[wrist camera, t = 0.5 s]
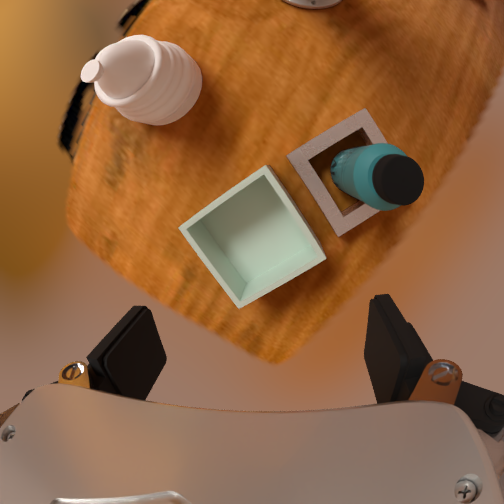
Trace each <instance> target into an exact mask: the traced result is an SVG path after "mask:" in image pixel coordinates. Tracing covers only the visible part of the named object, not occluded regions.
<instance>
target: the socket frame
mask: <svg viewBox="0 0 504 504" xmlns="http://www.w3.org/2000/svg"><path fill="white" fill-rule="evenodd" d="M356 130H358V132H359V134H360V135H361V137H362V138H363V140H364V141H365V143H366V144H367V146H368V145H373V144H375V143H376V144H377V143H387V142H386V140H385V138H384V136H383V135H382V133H381V132H380V130H379V128H378V127H377V125H376V123H375V122H374V120H373V119H372V117H371V116H370V114H369V113H368V111H367V110H366V108H364V109H363V110H361V111H359V112H357V113H356V114H354V115H352V116H350V117H349V118H347V119H345V120H344V121H342V122H340V123H338V124H337V125H335V126H333V127H332V128H330V129H328V130H327V131H325V132H323V133H322V134H320V135H318V136H317V137H315V138H314V139H312V140H310V141H309V142H307V143H305V144H304V145H302V146H301V147H299V148H297V149H296V150H294V151H293V152H291V153H290V154H288V155H287V156H286V157H287V158H288V159H289V161H290V162H291V164H292V165H293V167H294V168H295V170H296V171H297V173H298V174H299V176H300V177H301V179H302V180H303V182H304V183H305V185H306V186H307V188H308V189H309V191H310V193H311V194H312V196H313V197H314V199H315V200H316V202H317V204H318V205H319V207H320V208H321V210H322V212H323V213H324V215H325V216H326V218H327V220H328V221H329V223H330V225H331V226H332V228H333V230H334V231H335V233H336V234H337V236H338V237H339V236H341V235H342V234H344V233H346V232H347V231H349V230H350V229H352V228H354V227H355V226H357V225H358V224H360V223H362V222H363V221H365V220H366V219H368V218H369V217H371V216H373V215H374V214H376V213H377V212H379V211H380V210H377V209H374V208H372V207H370V206H368V205H367V204H366V203H364V202H363V201H361V200H360V201H358V202H357V203H355V204H353V205H352V206H350V207H349V208H347V209H345V210H344V211H342V212H340V211H339V209H338V207H337V206H336V204H335V202H334V201H333V199H332V197H331V196H330V194H329V193H328V191H327V189H326V188H325V186H324V185H323V183H322V181H321V180H320V178H319V177H318V175H317V174H316V172H315V171H314V169H313V167H312V166H311V164H310V163H309V161H308V160H309V159H310V158H312V157H314V156H315V155H317V154H318V153H320V152H322V151H323V150H325V149H326V148H328V147H330V146H331V145H333V144H335V143H336V142H338V141H340V140H341V139H343V138H345V137H346V136H348V135H350V134H351V133H353V132H355V131H356ZM370 143H371V144H370ZM387 144H388V143H387Z"/></svg>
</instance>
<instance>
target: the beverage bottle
mask: <svg viewBox="0 0 504 504" xmlns="http://www.w3.org/2000/svg"><path fill="white" fill-rule="evenodd" d="M370 144H371V143H370ZM365 145H367V144H365ZM331 164H332V165H330V166H331V168H330V169H331V170H330V171H331V172H330V173H331V175H330V176H332V179H333V180H332V181H334V184H335V185H336V187H338V188H339V190H340V189H341V191H343V192H346V193H347V194H349V195H350V196H353V197H355V198H357V199H359V200H361V201H363V202H364V203H366V204H367V205H368V206H370V207H372V208H374V209H377V210H383V211H387V210H392V209H395V208H398V207H399V206H401V205H408V204H411V203H413V202H414V201H416V200H417V199H418V198H419V196H420V195H421V193H422V190H423V186H424V177H423V173H422V170H421V168H420V166H419V165H418V164H417V163H416V162H415V161H414V160H413V159H411V158H410V157H407V155H406V154H405V153H404V152H403V151H402V150H400V149H399V148H397V147H396V146H394V145H391V144H387V143H377V144H376V143H375V144H373V145H368V146H363V147H362V146H361V147H353V149H351V148H350V149H348V150H344V151H341V152H339V154H338V155H336V157H334V160H333V162H332V163H331ZM355 198H354V199H355Z"/></svg>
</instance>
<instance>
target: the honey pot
mask: <svg viewBox="0 0 504 504" xmlns="http://www.w3.org/2000/svg"><path fill="white" fill-rule="evenodd" d="M81 79H82V81H83V82H87V83H90V82H94V84H95V91H96V93H97V96H98V98H99V99H100V100H101V101H102V102H103V103H104V104H106V105H108V106H110V107H115V108H116V109H117V110H118V111H119V112H120V113H121V114H122V116H124V117H126V118H128V119H130V120H132V121H136V122H141V123H145V124H150V125H156V126H157V125H166V124H169V123H172V122H174V121H176V120H178V119H179V118H181V117H183V116H184V115H185V114H186V113H187V112H188V111H189V110H190V109H191V108H192V107H193V106H194V104H195V102H196V101H197V99H198V97H199V94H200V91H201V89H202V74H201V70H200V68H199V66H198V65H197V63H196V61H195V60H194V59H193V58H192V57H191V56H190V55H188V54H187V53H186V52H185V51H184V50H183V49H182V48H180V47H179V46H178V45H175V44H172V43H169V42H162V41H157V40H155V39H154V38H152V37H149V36H146V35H134V36H130V37H127V38H125V39H123V40H121V41H119V42H117V43H114V44H111V45H109V46H107V47H105V48H104V49H103V50H101V51H100V52H99V54H98V55H97V57H96V58H95V60H91V61H89V62H87V63H86V64H85V66H84V67H83V69H82V72H81Z"/></svg>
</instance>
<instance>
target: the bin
mask: <svg viewBox="0 0 504 504" xmlns="http://www.w3.org/2000/svg"><path fill="white" fill-rule="evenodd" d="M178 228H179V229H180V231H181V232H182V234H183V235H184V236H185V238H186V239H187V241H188V242H189V243H190V245H191V246H192V247H193V249H194V250H195V252H196V253H197V254H198V256H199V257H200V258H201V260H202V261H203V262H204V264H205V265H206V266H207V268H208V269H209V270H210V272H211V273H212V274H213V276H214V277H215V278H216V280H217V281H218V282H219V284H220V285H221V286H222V288H223V289H224V290H225V292H226V293H227V294H228V295H229V297H230V298H231V299H232V301H233V302H234V303H235V305H236V306H237V307H238V308H241V307H243V306H245V305H247V304H249V303H250V302H252V301H254V300H256V299H258V298H259V297H261V296H263V295H265V294H267V293H268V292H270V291H272V290H274V289H275V288H277V287H279V286H281V285H282V284H284V283H286V282H288V281H289V280H291V279H293V278H295V277H296V276H298V275H300V274H301V273H303V272H305V271H307V270H308V269H310V268H312V267H313V266H315V265H317V264H318V263H320V262H322V261H323V260H325V259H327V258H326V255H325V253H324V250H323V248H322V246H321V243H320V241H319V240H318V238H317V237H316V235H315V233H314V232H313V230H312V229H311V227H310V225H309V224H308V222H307V221H306V219H305V218H304V216H303V214H302V213H301V211H300V210H299V208H298V207H297V205H296V204H295V202H294V201H293V199H292V198H291V196H290V195H289V193H288V192H287V190H286V189H285V187H284V186H283V184H282V183H281V181H280V180H279V178H278V177H277V175H276V174H275V172H274V171H273V170H272V168H271V167H270V165H265V166H264V167H262V168H261V169H259V170H258V171H256V172H255V173H253V174H252V175H250V176H249V177H247V178H246V179H244V180H243V181H241V182H240V183H239V184H237V185H236V186H234V187H233V188H231V189H230V190H229V191H227V192H226V193H224V194H223V195H222V196H220V197H219V198H217V199H216V200H215V201H213V202H212V203H210V204H209V205H208V206H206V207H205V208H204V209H202V210H201V211H200V212H198V213H197V214H196V215H194V216H193V217H192V218H190V219H189V220H188V221H186V222H185V223H184V224H182V225H181V226H180V227H178Z"/></svg>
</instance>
